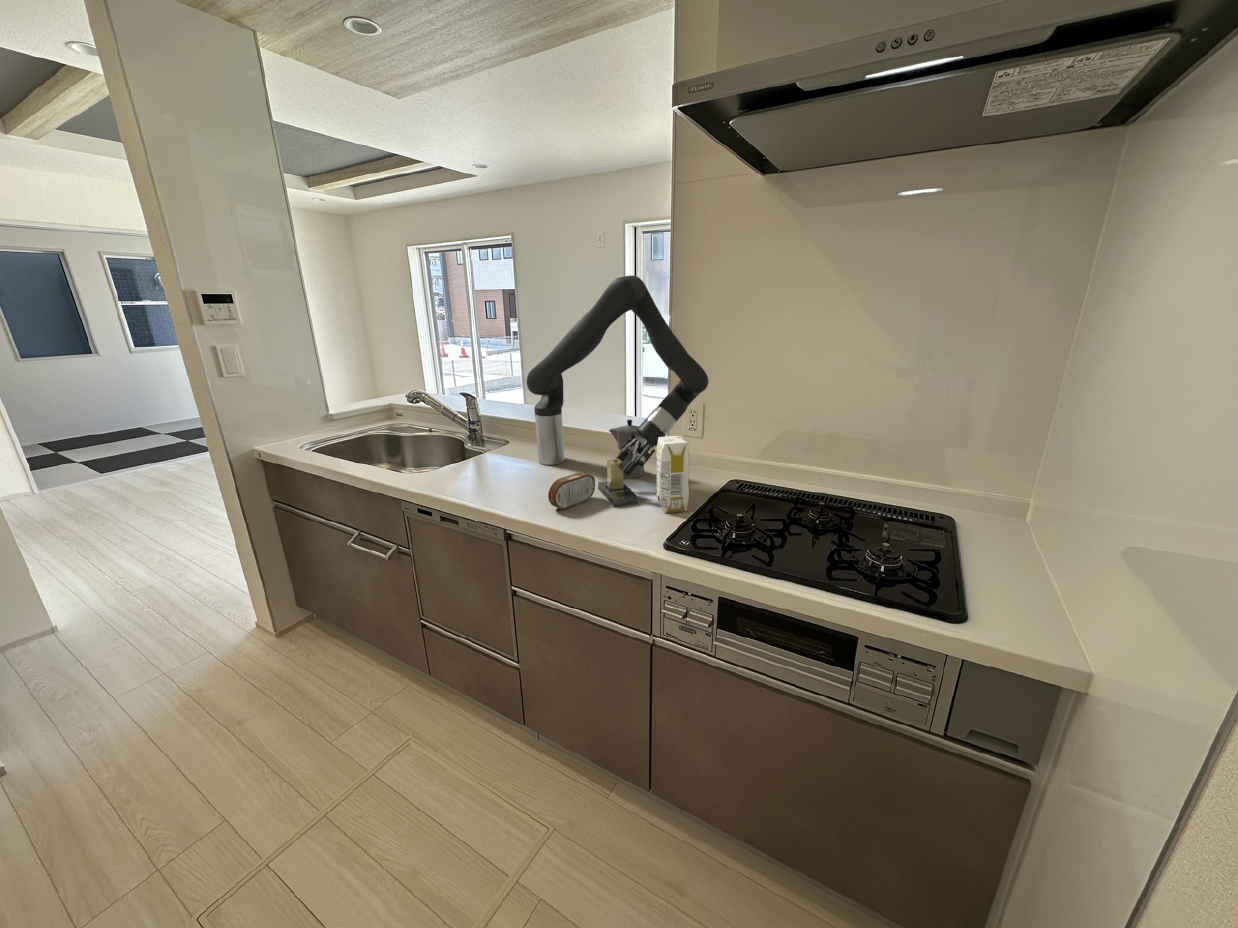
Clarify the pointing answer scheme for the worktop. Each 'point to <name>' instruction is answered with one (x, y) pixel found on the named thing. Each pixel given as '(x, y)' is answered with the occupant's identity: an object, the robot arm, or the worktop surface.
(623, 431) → the coffeepot
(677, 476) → the juice carton
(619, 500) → the grey base with slots
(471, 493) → the worktop surface
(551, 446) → the robot arm
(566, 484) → the tin
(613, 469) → the wooden post with button
